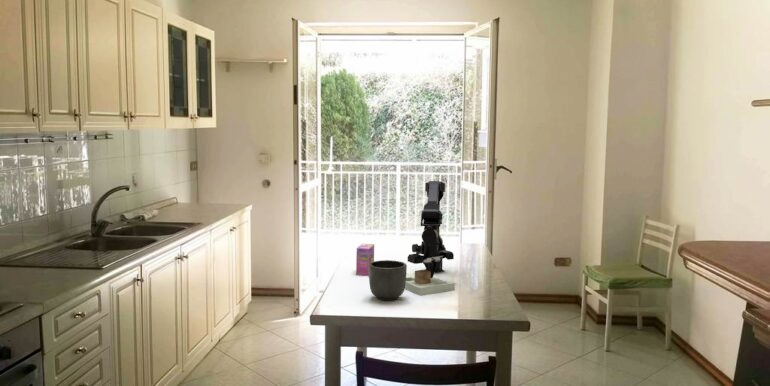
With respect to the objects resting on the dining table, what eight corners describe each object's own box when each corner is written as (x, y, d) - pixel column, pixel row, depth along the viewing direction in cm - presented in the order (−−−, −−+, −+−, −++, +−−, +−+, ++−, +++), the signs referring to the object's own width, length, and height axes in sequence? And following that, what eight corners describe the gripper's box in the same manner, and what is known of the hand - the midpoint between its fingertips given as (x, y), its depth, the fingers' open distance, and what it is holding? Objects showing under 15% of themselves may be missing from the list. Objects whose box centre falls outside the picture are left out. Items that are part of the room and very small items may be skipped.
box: (369, 275, 261) (369, 248, 260) (356, 275, 262) (356, 247, 261) (374, 270, 271) (374, 244, 270) (361, 269, 273) (361, 243, 271)
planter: (379, 305, 217) (379, 270, 216) (362, 296, 229) (362, 262, 228) (413, 301, 223) (413, 266, 222) (395, 291, 236) (395, 258, 234)
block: (424, 280, 245) (424, 269, 245) (430, 283, 241) (430, 271, 241) (414, 282, 243) (414, 270, 243) (420, 284, 239) (421, 273, 239)
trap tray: (419, 276, 261) (419, 269, 260) (454, 290, 239) (454, 283, 239) (386, 280, 253) (386, 274, 252) (420, 295, 231) (420, 288, 231)
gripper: (438, 234, 255) (438, 271, 256) (400, 238, 245) (400, 276, 247) (454, 238, 245) (454, 276, 247) (415, 242, 236) (415, 282, 237)
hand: (430, 278), depth 245 cm, fingers closed
